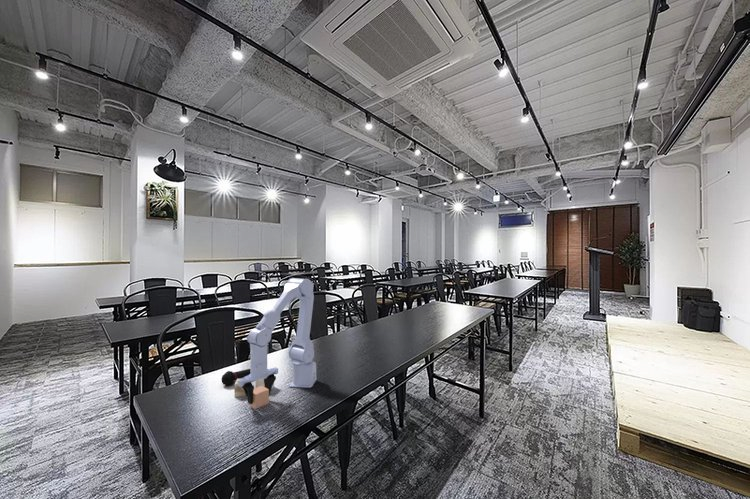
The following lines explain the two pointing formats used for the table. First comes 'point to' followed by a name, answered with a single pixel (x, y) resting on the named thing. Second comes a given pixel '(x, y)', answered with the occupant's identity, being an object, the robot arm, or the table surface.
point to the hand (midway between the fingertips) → (258, 399)
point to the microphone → (234, 376)
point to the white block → (261, 383)
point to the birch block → (239, 390)
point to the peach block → (260, 397)
